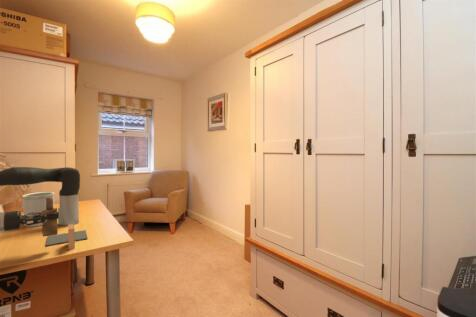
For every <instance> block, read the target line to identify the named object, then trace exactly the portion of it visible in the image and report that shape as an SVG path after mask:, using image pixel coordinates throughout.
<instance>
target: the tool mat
mask: <svg viewBox="0 0 476 317" xmlns="http://www.w3.org/2000/svg"><path fill="white" fill-rule="evenodd" d="M87 234H88V233H87V230H86V229H84V230H77V231H74V236H75V242H78V241H84V240H88V235H87ZM66 243H67V244H69V241H68V232H66V233H65V232H64V233H60V234H59V233H57V235H51V236H46V243H45V247H52V246H56V245H62V244H66Z"/></svg>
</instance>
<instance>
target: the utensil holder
mask: <svg viewBox="0 0 476 317" xmlns="http://www.w3.org/2000/svg"><path fill="white" fill-rule="evenodd" d="M51 197H52V198H53V208H55V192H53V191H40V192H38V191H37V192H32V193H27V194H23V195H21V198H22V206H23V208H22V210H23V215H27V214H28V213H31V212H42V210H43V209H46V198H51ZM24 226H25V227H30V228H31V227H32V228H35V227H39V226H42V223H38V224H34V225H29V226H27V225H26V224H24Z"/></svg>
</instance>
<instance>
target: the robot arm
mask: <svg viewBox="0 0 476 317" xmlns="http://www.w3.org/2000/svg"><path fill="white" fill-rule="evenodd" d="M46 182H52V183H53V182H54V183H55V182H56V183H61V189H60V190H59V191H58V193H59V194H58V196H59V199H58V200H59V207H58V208H57V214H50V215H42V212H31V213H28V214H27V215H24V214H23V215H22V212H21V210H14V211H12V210H11V211H4V212H0V233H2V232H9V231H17V230H20V229H21V227H22V225H25V224H26V225H27V226H26V227H28V226H29V225H34V224H38V223H44V222H45V221H47V220H54V219H57V225H60V226H61V227H62V226H68V225H71V224H73V225H76V224H78V223H79V222H80V221H79V220H80V219H79V218H80V217H79V216H80V213H79V212H80V210H79V207H80V206H79V205H80V204H79V190H80V189H81V175H80V171H79V170H78V169H77V168H74V167H69V166H67V167H65V166H64V167H57V168H41V167H32V166H31V167H29V166H14V167H9V168H6V169H3V170H0V187H2V186H3V187H5V186H25V185H26V186H29V185H36V184H40V183H46Z"/></svg>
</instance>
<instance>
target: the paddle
mask: <svg viewBox="0 0 476 317" xmlns="http://www.w3.org/2000/svg"><path fill="white" fill-rule="evenodd" d="M57 212H58V208H57V207H54V208H53V198H52V197H51V198H46V209H43V210H42V215H50V214H57ZM41 226H42V227H41V229H42V238H43V237H48V236H52V235H58V234H59V233H58V231H59V230H58V219H54V220H47V221H45V222H44V223H42V225H41Z"/></svg>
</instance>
